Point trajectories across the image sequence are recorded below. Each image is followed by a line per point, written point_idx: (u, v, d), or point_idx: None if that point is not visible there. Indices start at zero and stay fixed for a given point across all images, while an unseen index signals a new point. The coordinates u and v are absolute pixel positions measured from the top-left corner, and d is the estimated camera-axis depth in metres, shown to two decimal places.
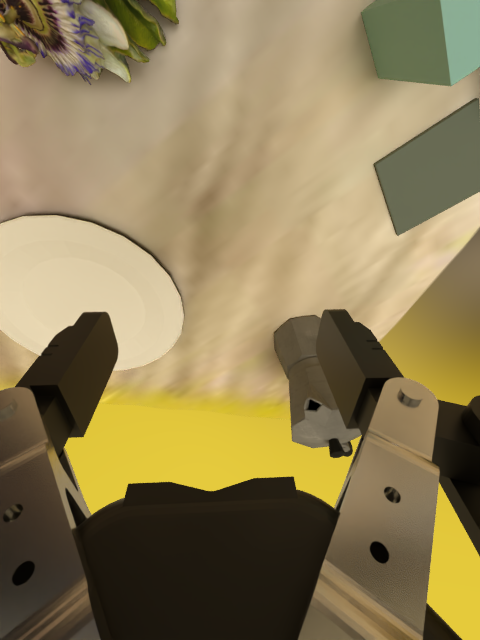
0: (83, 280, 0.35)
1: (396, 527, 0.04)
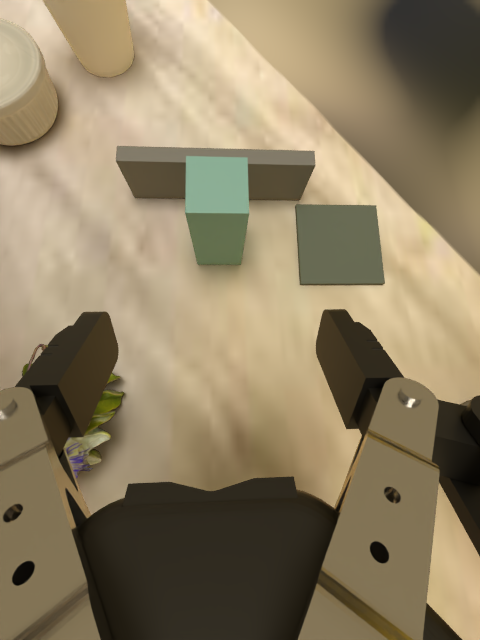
0: None
1: (396, 527, 0.04)
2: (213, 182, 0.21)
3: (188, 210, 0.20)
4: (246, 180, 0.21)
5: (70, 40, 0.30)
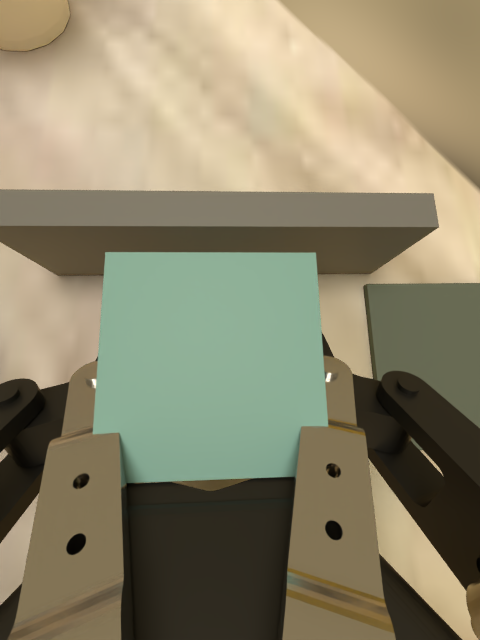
0: None
1: (342, 499, 0.04)
2: (199, 351, 0.06)
3: None
4: (316, 339, 0.06)
5: None
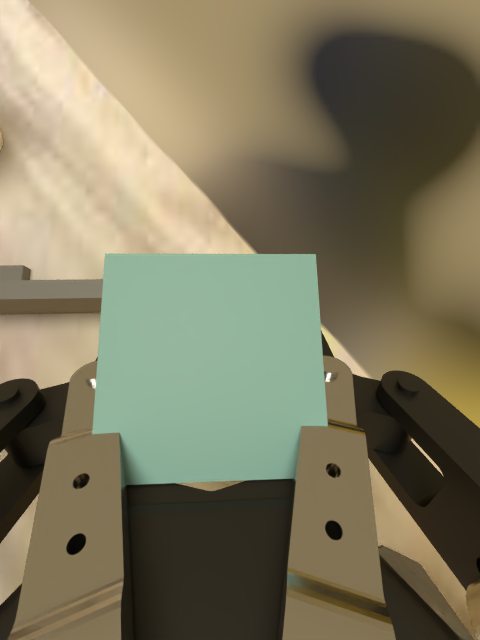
0: None
1: (342, 500, 0.04)
2: (199, 353, 0.06)
3: None
4: (316, 341, 0.06)
5: None
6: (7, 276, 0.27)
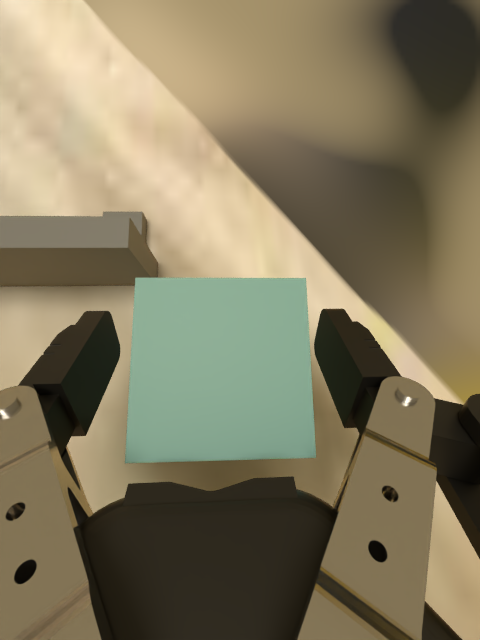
0: None
1: (394, 526, 0.04)
2: (211, 358, 0.07)
3: (135, 453, 0.07)
4: (305, 349, 0.07)
5: None
6: None
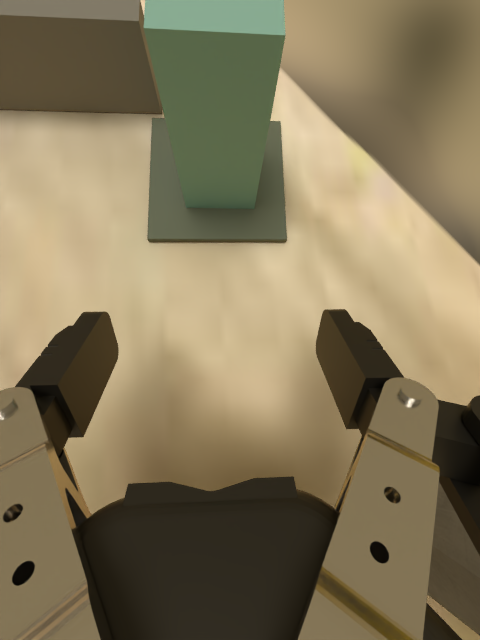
0: None
1: (396, 527, 0.04)
2: None
3: (151, 24, 0.09)
4: None
5: None
6: None
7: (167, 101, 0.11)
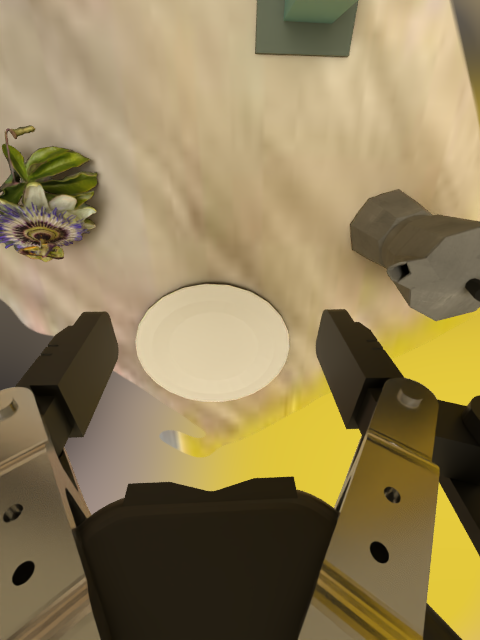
0: (195, 334, 0.46)
1: (396, 527, 0.04)
2: None
3: None
4: None
5: None
6: None
7: None
